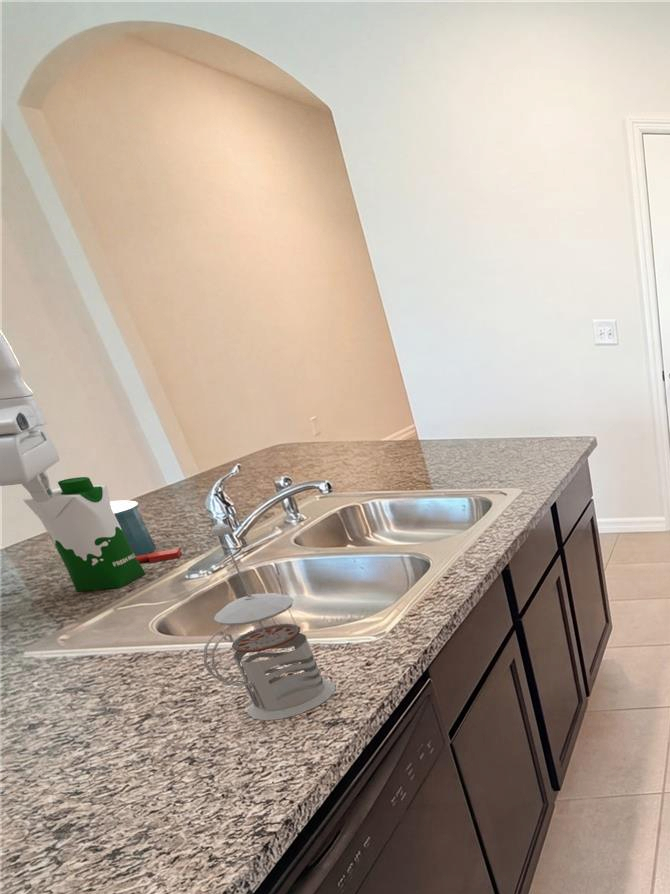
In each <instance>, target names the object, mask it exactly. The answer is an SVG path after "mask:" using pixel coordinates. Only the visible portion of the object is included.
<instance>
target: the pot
mask: <svg viewBox="0 0 670 894" xmlns="http://www.w3.org/2000/svg"><path fill="white" fill-rule="evenodd" d="M115 517H116V519H117V521H118V523H119V525H120V527H121V529H122V531H123V533H124V535H125V537H126V539H127V541H128V543H129V545H130V547H131V549H132V551H133V553H134V555H135V556H141V555H146V554H150V553H153V552H155V550H156V544H155V543H154V540H153V538H152V536H151V535H150V534H151V533H150V531H149V529H148V528H147V526H146V522H145V521H144V519H143V517H142V514H141V512H140V511H139V509H138V508H136V509H134V510H132V511H129V512H126V513H123V514H120V515H116V516H115ZM152 551H153V552H152Z"/></svg>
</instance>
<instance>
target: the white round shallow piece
mask: <svg viewBox="0 0 670 894" xmlns="http://www.w3.org/2000/svg"><path fill="white" fill-rule="evenodd" d="M110 504H111V508H112V510H113V513H114V515H115V516H116V515H120V514H123V513H126V512H129V511H132V510H134V509H136V508H137V509H138V508H139V506H140V504H139V502H137V501H135V500H111V501H110Z"/></svg>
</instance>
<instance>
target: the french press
mask: <svg viewBox="0 0 670 894" xmlns="http://www.w3.org/2000/svg"><path fill="white" fill-rule="evenodd" d="M233 531H234V530H233V529H232V528H231V526H230V525H228V524H226V523H218V524H215V525H214V526H212V527H211V529H210V532H211V534H212V536H214V537H221V536H222V538H223V541H224V543H225V545H226V547H227V548H226V549H227V550H228V553H229V555H230V557H231V559H232V562H233V564H234V566H235V569H236V571H237V573H238V576H239V579H240V580H241V583H242V586H243V588H244V590H245V593H246V594H247V595H246V596H243V597H240V598H237V599H234V600H233V601H231V602H229V603H227V604H225V606H224V607H223V608H221V609H220V610H219V611H218V612H217V613H216V614H215V615H214V617H213V620H214V621H215V622H216V623H217V624H218V625H220V626H227V627H235V626H244V625H250V624H254V623H259V625H260V627H259V628H256V629H253V630H249V631H248V632H245V633H243V634H242V635H240V636H239V637H237V638H236V639H235V640H234V638H233V636H232V634H231V633H224V632H223V631H215V633H213V635H211V637H209V639H208V640H207V641H206V643H205V645H204V647H203V648H204V649H203V656H202V657H203V663H204V666H205V668H206V669H207V672H208V673H209V674H210V675H211V676H212V677H213V678H215V679H216V680H218V681H220V682H222V683H226V684H227V685H232V686H236V687H241V686H244V687H245V690H246V691H247V694H248V696H249V698H250V700H251V704H250V705H249V707H248V712H247V714H248V716H250V717H251V718H252V719H254V720H258V721H259V720H260V721H266V722H267V721H274V720H282V719H283V720H284V719H287V718H291V717H293V716H298V715H300V714H302V713H305V712H308V711H310V710H312V709H314V708H316V707H318V706H320V705H321V704H323V703H324V702H326V701H328V700H329V699H330V697H331V696H332V695H333V694H334V693H335V692H336V684H335V683H334V682H333V681H331V680H329V679H326V678H323V676H322V673H321V671H320V668H319V665H318V664H317V661H316V658H315V656H314V654H313V653H314V652H313V651H312V648H311V645H310V644H309V641H308V638H307V636H306V634H304V633H300V631H301V627H300V626H299V625H297V624H293V623H280V624H279V623H277V624H276V623H274V624H272V625H268V626H267V625H266V626H264V625H263V623H262V621H266V620H269V619H271V618H275V617H277V616H279V615H280V614H283V613H285V612H287V611H288V610H289V609H291V608H292V606H293V603H294V597H291V596H290V595H287V594H282V593H277V592H264V593H252V594H250V592H249V589H248V588H247V585H246V583H245V581H244V579H243V575H242V574H241V571H240V568H239V566H238V564H237V561H236V559H235V557H234V555H233V552H232V550H231V547H230V545H229V543H228V541H227V538H226V536H225V535H230V534H232V533H233ZM219 634H220V635H221V637H220V638H219V639H218V640H217V641H216V642H215V643H214V645H213V648H212V650H211V666H212V668H213V670H212V668H211V666H210V664H209V663H208V658H207V657H208V656H207V654H208V648H209V646H210V643H211V641H212V640H213V639H214V638H215V637H216V636H217V635H219ZM227 637H228V638H229V639H228V638H227ZM222 640H224V641H225V642H227V643H232V645H231V648H232V649H233V650H234V651H235V652H234V654H233V659H234V662H235V664H236V666H237V668H238V671H239V673H240V675H241V678H242V680H241V679H240V680H228V679H226V678H225V677H224V676H223V675H221V673H220V672H219V671H218V668H217V666H216V663H215V652H216V650H217V648H218V646H219V644H220V642H221V641H222ZM292 647H294V649H293V650H290V651H281V652H263V651H267V650H275V649H276V650H277V649H287V648H292ZM247 653H253V654H251V655H249V656H248V657H246V659H245V660H244V661H242V660H243V658H244V657H245V655H247ZM260 658H268V659H263V660H257V659H260ZM253 660H255V661H253ZM256 660H257V661H256ZM287 665H289V666H287ZM277 666H284V667H282V668H275V667H277ZM213 671H214V672H215V673H214V672H213ZM301 671H304V672H301ZM289 673H290V674H289ZM291 673H294V674H291ZM283 674H289V675H285V676H281V675H283Z"/></svg>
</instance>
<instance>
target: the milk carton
mask: <svg viewBox="0 0 670 894" xmlns="http://www.w3.org/2000/svg"><path fill="white" fill-rule="evenodd" d="M57 485H58V486H59V487H56V488H54V489H51V490H52V493H53V497H52V498H51V499H50V500H48V501H45V502H35V501H34V500H33V498H32V496H29V497H27V498H25V499H23V502H24V503H25V504H26V505H27V506H28V508H30V510H31V511H32V512H33V513H34V514H35V515H36V517H38V519H39V520H40V522H41V524H42V525H43V527H44V529H45V531H46V533H47V534H48V536H49V539H51V542H52V544H53V545H54V547H55V549H56V550H57V553H58V555H59V556H60V558H61V560H62V561H63V564H64V566H65V568H66V570H67V572H68V574H69V577H70V580H71V581H72V582H71V583H72V584H73V586H74V588H75V591H76V592H85V591H97V590H110V589H111V590H112V589H120V588H122V587H124V586H126V585H128V584H129V583H131V582H133V581H135V580H136V579H138V578H140V577H142V576H143V575H145V574H146V572H145V569H144V568H143V566H142V565H141V563H139V561H138V560H137V558H136V556H135V555H134V553H133V551H132V549H131V547H130V545H129V543H128V541H127V539H126V537H125V535H124V533H123V531H122V529H121V527H120V525H119V523H118V521H117V519H116V517H115V515H114V513H113V510H112V508H111V504H110V496H109V491H108V486H107V485H106V484H101V485H99V484H98V485H93V482H92V481H91V478H90V477H88V476H80V477H72V478H66V479H62V480H59V481H58V482H57Z"/></svg>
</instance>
